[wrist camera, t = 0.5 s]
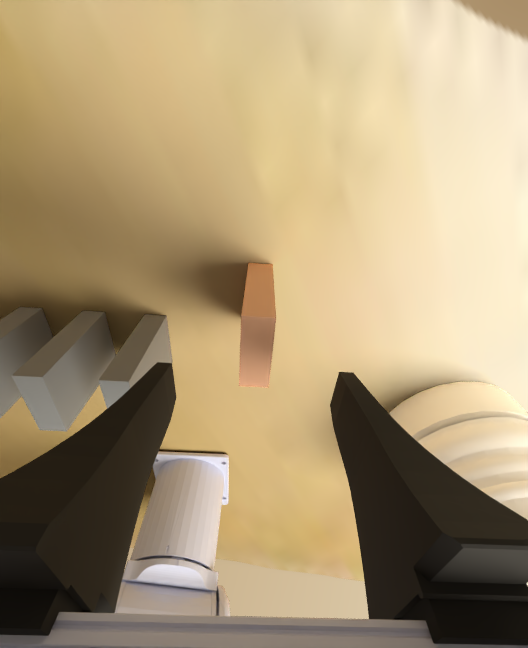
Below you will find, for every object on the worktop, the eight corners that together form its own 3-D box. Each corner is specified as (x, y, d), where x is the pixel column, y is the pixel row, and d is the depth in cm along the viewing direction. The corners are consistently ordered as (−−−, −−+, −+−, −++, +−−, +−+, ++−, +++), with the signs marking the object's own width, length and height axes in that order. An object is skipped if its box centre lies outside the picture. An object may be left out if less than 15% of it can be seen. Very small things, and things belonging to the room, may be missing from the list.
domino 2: (116, 358, 23) (66, 431, 17) (96, 357, 23) (39, 429, 17) (104, 312, 21) (42, 377, 15) (82, 310, 21) (11, 375, 15)
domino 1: (60, 355, 23) (-10, 427, 17) (40, 354, 23) (-37, 426, 17) (42, 308, 21) (-46, 372, 15) (19, 306, 21) (-78, 371, 15)
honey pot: (372, 471, 32) (471, 771, 17) (383, 387, 25) (568, 762, 10) (492, 463, 31) (713, 771, 16) (538, 374, 24) (999, 761, 9)
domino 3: (172, 361, 24) (141, 434, 18) (152, 360, 24) (115, 433, 18) (166, 315, 21) (128, 381, 15) (144, 314, 21) (98, 380, 15)
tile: (267, 320, 21) (268, 387, 16) (246, 319, 21) (239, 386, 15) (272, 264, 19) (275, 317, 13) (248, 262, 19) (241, 315, 13)
